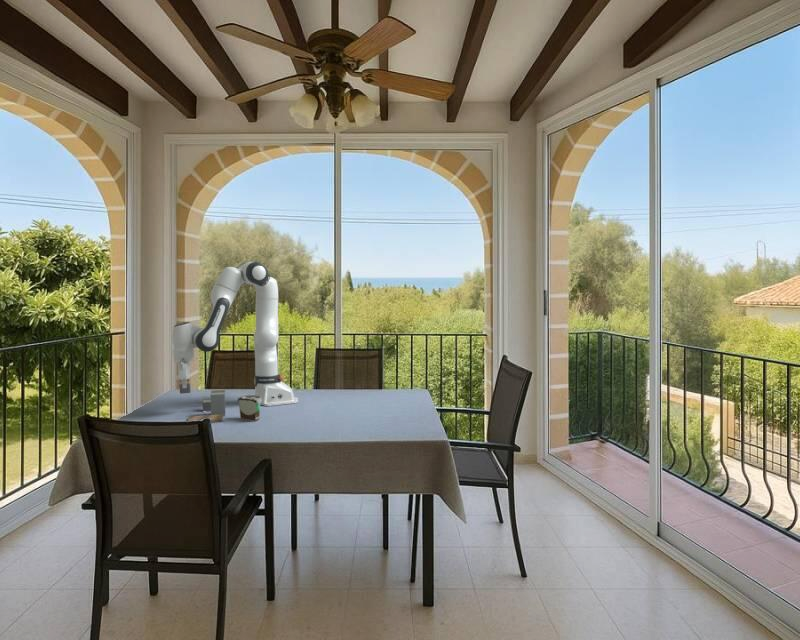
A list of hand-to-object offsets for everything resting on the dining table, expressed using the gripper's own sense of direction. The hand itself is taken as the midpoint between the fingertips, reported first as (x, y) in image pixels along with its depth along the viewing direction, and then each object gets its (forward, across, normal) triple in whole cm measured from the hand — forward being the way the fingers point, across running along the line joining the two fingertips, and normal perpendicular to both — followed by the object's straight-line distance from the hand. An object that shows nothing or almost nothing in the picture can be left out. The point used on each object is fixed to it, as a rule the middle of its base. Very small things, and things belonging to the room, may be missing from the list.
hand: (185, 386), depth 249 cm
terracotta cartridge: (+3, 0, 0) cm, 3 cm away
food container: (+13, -20, -29) cm, 38 cm away
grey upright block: (+13, -8, -14) cm, 21 cm away
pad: (+13, -18, -9) cm, 24 cm away
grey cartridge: (+13, +3, -9) cm, 16 cm away
